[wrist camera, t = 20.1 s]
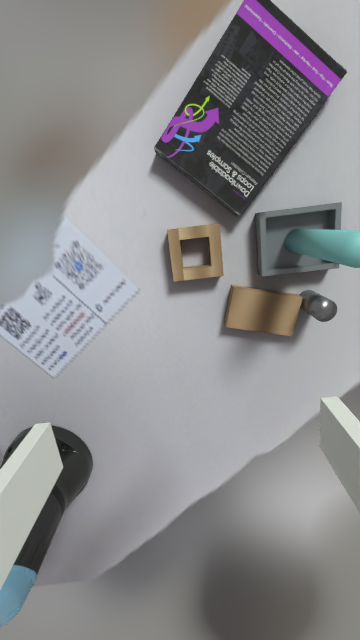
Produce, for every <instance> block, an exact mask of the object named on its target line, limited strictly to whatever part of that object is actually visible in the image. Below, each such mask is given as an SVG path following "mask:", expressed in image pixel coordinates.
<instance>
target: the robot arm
mask: <svg viewBox="0 0 360 640" xmlns="http://www.w3.org/2000/svg"><path fill="white" fill-rule="evenodd" d="M320 448H321V450H322V451H323V453H324V455H325V456H326V458H327V460H328V461H329V463H330V464H331V466H332V468H333V469H334V471H335V473H336V474H337V476H338V478H339V479H340V481H341V483H342V485H343V486H344V488H345V489H346V491H347V493H348V494H349V496H350V498H351V499H352V501H353V502H354V504H355V506H356V507H357V509H358V511H359V513H360V422H359V421H358V419H357V418H356V417H355V416H354V415H353V414H352V413H351V412H350V410H349V409H348V408H347V407H346V406H345V405H344V404H343V403H342V401H341V400H340V399H339V398H338V397H329V398H321V405H320ZM92 466H93V461H92V456H91V453H90V451H89V449H88V447H87V446H86V444H85V443H84V442H83V441H82V440H81V439H80V438H79V437H78V436H76V435H75V434H74V433H72V432H70V431H68V430H66V429H63V428H60V427H57V426H51V423H41V424H35V425H34V426H33V427H31V428H28V429H26V430H24V431H23V432H21V433H20V434H19V435H18V436H17V437H16V438H15V439H14V441H13V442H12V443H11V444H10V446H9V447H8V449H7V451H6V453H5V455H4V459H3V462H2V465H1V468H0V627H2V626H4V625H6V624H7V623H8V622H10V621H11V620H12V619H13V618H14V617H15V616H16V615H17V614H18V612H19V611H20V609H21V607H22V605H23V603H24V601H25V600H26V597H27V595H28V593H29V592H30V590H31V588H32V586H33V585H34V583H35V582H36V579H37V574H38V572H39V569H40V567H41V564H42V562H43V560H44V557H45V555H46V553H47V550H48V548H49V546H50V543H51V541H52V539H53V536H54V534H55V531H56V529H57V527H58V524H59V522H60V520H61V517H62V515H63V513H64V510H65V509H66V508H67V507H68V506H69V504H70V503H71V502H72V501H73V500H74V498H75V497H76V496H77V495H78V494H79V493H80V492H81V491H82V490H83V489H84V487H85V486H86V484H87V482H88V479H89V477H90V474H91V471H92Z"/></svg>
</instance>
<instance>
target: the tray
mask: <svg viewBox="0 0 360 640" xmlns="http://www.w3.org/2000/svg"><path fill="white" fill-rule="evenodd" d="M341 205H342V202H341V203H333V204H325V205H317V206H309V207H301V208H293V209H285V210H277V211H269V212H261V213H256V238H257V263H258V274H259V275H261V276H262V277H264V276H272V275H281V274H290V273H299V272H307V271H316V270H325V269H334V268H339V264H338V263H334V262H330V261H326V260H322V259H318V258H314V257H310V256H306V255H302V254H298V253H294V252H291V251H289V250H288V249H287V248H286V246H285V237H286V235H287V234H288V233H289V232H290V231H291V230H293V229H325V230H341Z"/></svg>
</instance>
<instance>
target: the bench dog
mask: <svg viewBox="0 0 360 640" xmlns="http://www.w3.org/2000/svg"><path fill="white" fill-rule="evenodd" d="M300 296H301V297H303V298H302V302H301V306H300V308H302V309H303V310H304V311H306V312H307V313H309V314H310V315H312V316H313V317H314V318H316V319H317V320H319V321H322V322H326V321H329V320H331V319H332V318H333V317H334V316H335V315H336V313H337V306H336V304H335V303H334V302H333V301H331V300H329V299H327V298H325V297H324V296H322V295H320V294H318V293H316V292H314V291H311V290H306V291H304V292H302V293H301V294H300Z"/></svg>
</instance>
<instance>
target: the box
mask: <svg viewBox="0 0 360 640" xmlns="http://www.w3.org/2000/svg"><path fill="white" fill-rule="evenodd" d="M346 73H347V71H346V69H345V68H344V67H343V66H342V65H340V64H338V63H337V62H336V61H335V60H334V59H333V58H332V57H331V56H330V55H328V54H327V53H326V52H325V51H324V50H323V49H322V48H321V47H320V46H319V45H318V44H317V43H316V42H314V41H313V40H312V39H311V38H310V37H309V36H308V35H307V34H306V33H305V32H304V31H303V30H302V29H301V28H299V27H298V26H297V25H296V24H295V23H294V22H293V21H292V20H291V19H290V18H289V17H288V16H287V15H285V14H284V13H283V12H282V11H281V10H280V9H279V8H278V7H277V6H276V5H275V4H273V3H272V2H271V1H270V0H244V1H243V3H242V5H241V6H240V8H239V10H238V11H237V13H236V15H235V16H234V18H233V20H232V21H231V23H230V25H229V26H228V28H227V30H226V31H225V33H224V35H223V36H222V38H221V39H220V41H219V43H218V44H217V46H216V48H215V49H214V51H213V53H212V54H211V56H210V58H209V59H208V61H207V63H206V64H205V66H204V67H203V69H202V71H201V72H200V74H199V76H198V77H197V79H196V80H195V82H194V84H193V85H192V87H191V89H190V90H189V92H188V94H187V95H186V97H185V99H184V100H183V102H182V103H181V105H180V107H179V108H178V110H177V112H176V113H175V115H174V117H173V118H172V120H171V121H170V123H169V125H168V126H167V128H166V130H165V131H164V133H163V134H162V136H161V137H160V139H159V141H158V142H157V144H156V145H155V147H154V150H155V152H156V153H157V154H158V155H159V156H161V157H162V158H163V159H165V160H166V161H167V162H169V163H170V164H171V165H172V166H174V167H175V168H176V169H177V170H179V171H180V172H181V173H183V174H184V175H185V176H186V177H188V178H189V179H190V180H192V181H193V182H194V183H195V184H197V185H198V186H199V187H201V188H202V189H203V190H204V191H206V192H207V193H208V194H210V195H211V196H212V197H213V198H215V199H216V200H217V201H218V202H220V203H221V204H222V205H223V206H225V207H226V208H227V209H228V210H230V211H231V212H232V213H233V214H235V215H236V216H241V214H242V213H243V212H244V210H245V209H246V208H247V206H248V205H249V204H250V202H251V201H252V200H253V198H254V197H255V196H256V194H257V193H258V191H259V190H260V189H261V187H262V186H263V185H264V183H265V182H266V181H267V179H268V178H269V177H270V175H271V174H272V173H273V171H274V170H275V168H276V167H277V166H278V164H279V163H280V162H281V160H282V159H283V158H284V156H285V155H286V154H287V152H288V151H289V150H290V148H291V147H292V145H293V144H294V143H295V141H296V140H297V139H298V137H299V136H300V135H301V133H302V132H303V131H304V129H305V128H306V127H307V125H308V124H309V123H310V121H311V120H312V119H313V117H314V116H315V114H316V113H317V112H318V110H319V109H320V108H321V106H322V105H323V104H324V102H325V101H326V100H327V98H328V97H329V96H330V94H331V93H332V92H333V90H334V89H335V87H336V86H337V85H338V83H339V82H340V81H341V80H342V78H343V77H344V75H345V74H346Z"/></svg>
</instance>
